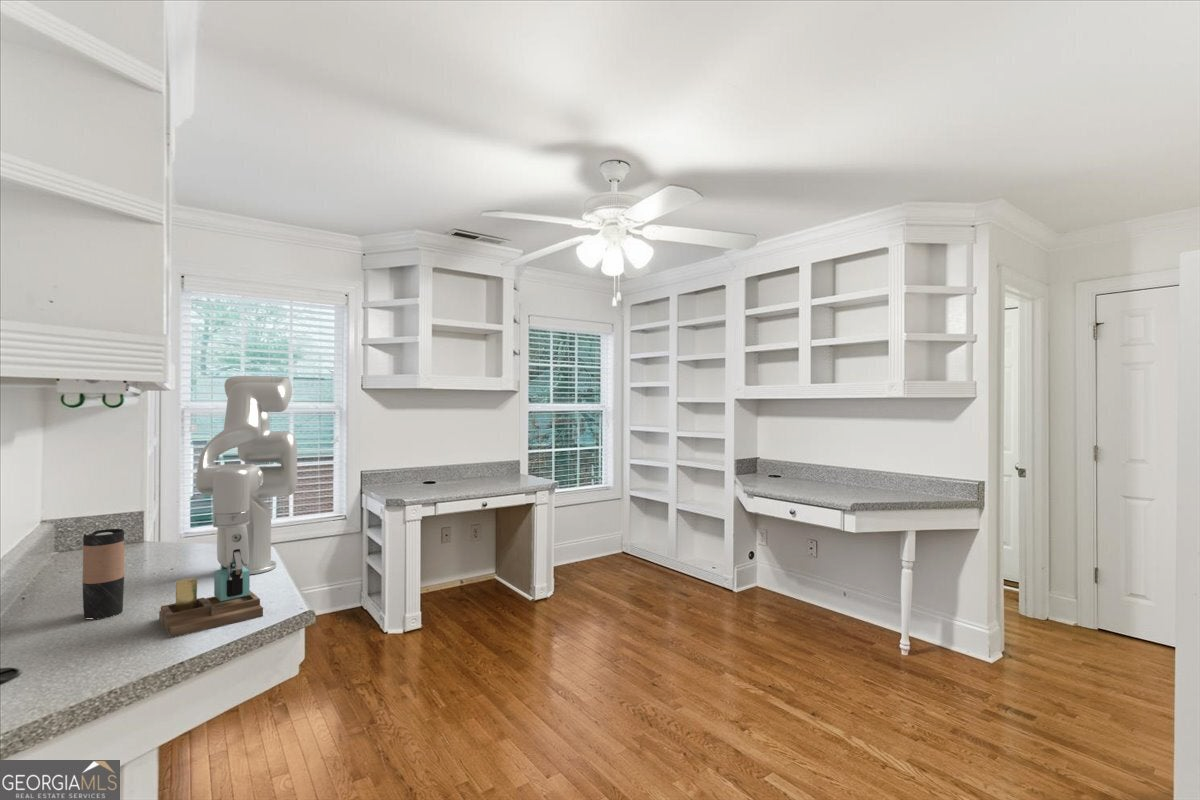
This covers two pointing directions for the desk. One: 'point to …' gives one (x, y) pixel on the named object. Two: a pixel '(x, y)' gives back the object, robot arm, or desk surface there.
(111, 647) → the desk surface
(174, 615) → the organizer
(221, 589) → the block
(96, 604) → the travel mug
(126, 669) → the desk surface
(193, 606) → the peg
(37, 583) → the desk surface
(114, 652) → the desk surface
